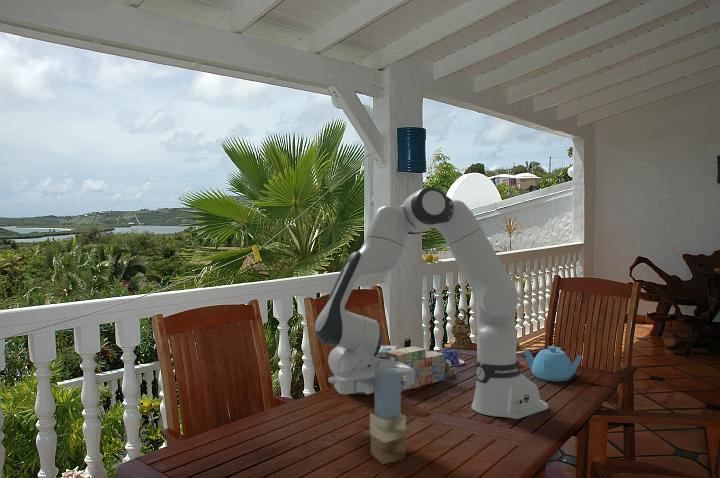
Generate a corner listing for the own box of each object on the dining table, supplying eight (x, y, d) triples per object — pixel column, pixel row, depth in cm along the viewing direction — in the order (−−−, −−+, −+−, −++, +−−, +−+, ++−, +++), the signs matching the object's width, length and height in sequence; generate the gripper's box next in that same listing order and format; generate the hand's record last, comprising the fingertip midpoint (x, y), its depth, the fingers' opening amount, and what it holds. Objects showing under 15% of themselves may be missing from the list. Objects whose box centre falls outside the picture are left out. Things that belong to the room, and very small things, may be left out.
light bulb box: (394, 383, 188) (394, 352, 188) (374, 382, 190) (374, 351, 189) (398, 375, 199) (398, 345, 198) (379, 374, 200) (379, 344, 200)
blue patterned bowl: (429, 365, 213) (428, 351, 213) (439, 358, 224) (439, 345, 224) (459, 368, 208) (459, 355, 208) (468, 361, 219) (468, 348, 218)
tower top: (390, 429, 134) (390, 408, 134) (405, 437, 129) (405, 415, 129) (369, 434, 131) (369, 413, 130) (384, 442, 126) (384, 421, 125)
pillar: (391, 410, 133) (391, 368, 132) (400, 416, 129) (400, 373, 128) (374, 413, 131) (374, 370, 130) (383, 419, 127) (383, 375, 126)
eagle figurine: (427, 369, 201) (434, 371, 192) (436, 352, 202) (444, 353, 194) (444, 380, 201) (453, 383, 192) (454, 363, 203) (462, 365, 194)
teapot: (585, 381, 189) (585, 350, 189) (545, 385, 186) (545, 353, 186) (559, 370, 204) (559, 341, 204) (522, 373, 201) (522, 343, 201)
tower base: (393, 449, 134) (393, 429, 134) (405, 459, 128) (405, 438, 128) (370, 454, 131) (370, 433, 131) (382, 464, 126) (382, 442, 126)
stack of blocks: (432, 376, 196) (432, 341, 196) (445, 380, 191) (445, 345, 191) (385, 387, 183) (385, 350, 183) (398, 392, 178) (398, 354, 178)
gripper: (325, 365, 137) (348, 379, 124) (398, 356, 145) (426, 368, 133) (325, 390, 137) (348, 407, 124) (398, 380, 145) (426, 395, 133)
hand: (389, 387), depth 129 cm, fingers open, 8 cm apart
